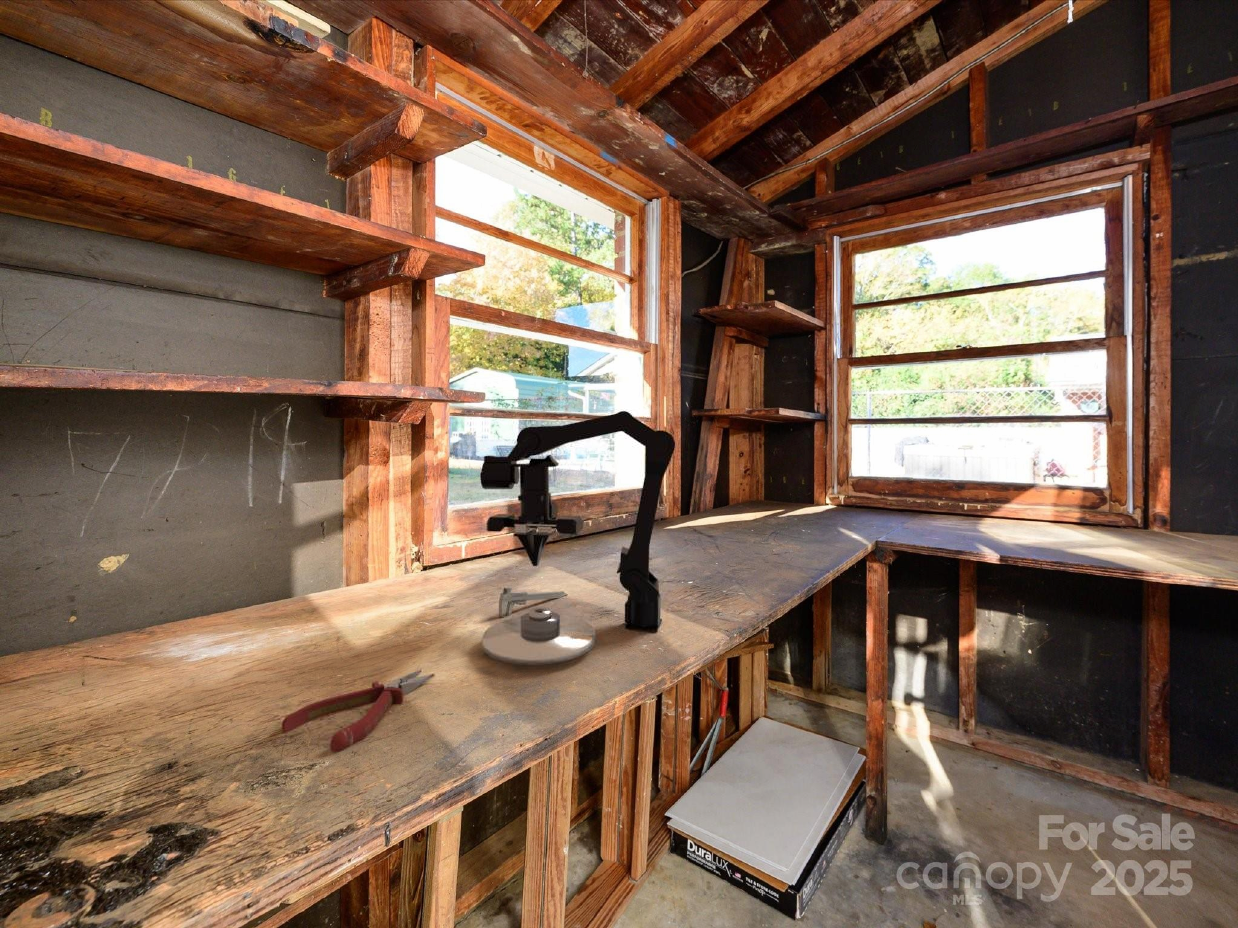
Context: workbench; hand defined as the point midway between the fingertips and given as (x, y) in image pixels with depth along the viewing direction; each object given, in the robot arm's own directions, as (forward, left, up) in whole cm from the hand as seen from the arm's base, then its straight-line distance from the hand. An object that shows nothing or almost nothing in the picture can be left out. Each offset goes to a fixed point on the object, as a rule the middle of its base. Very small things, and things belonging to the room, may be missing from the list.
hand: (535, 565), depth 110 cm
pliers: (+8, +39, -12) cm, 41 cm away
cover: (-6, +12, -9) cm, 16 cm away
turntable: (-6, +12, -10) cm, 17 cm away
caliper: (+4, -10, -12) cm, 16 cm away
